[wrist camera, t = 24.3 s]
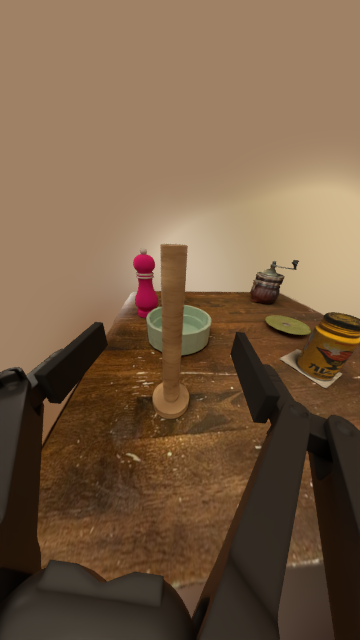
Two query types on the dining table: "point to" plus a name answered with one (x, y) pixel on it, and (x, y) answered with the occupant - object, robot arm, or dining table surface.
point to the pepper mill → (145, 284)
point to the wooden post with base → (172, 332)
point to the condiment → (327, 348)
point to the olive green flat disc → (288, 325)
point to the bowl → (193, 329)
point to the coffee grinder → (268, 284)
